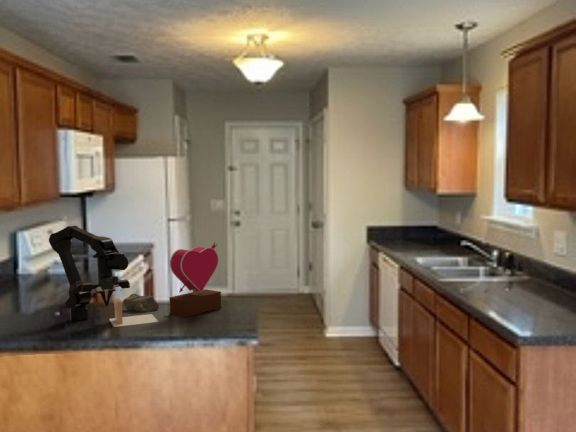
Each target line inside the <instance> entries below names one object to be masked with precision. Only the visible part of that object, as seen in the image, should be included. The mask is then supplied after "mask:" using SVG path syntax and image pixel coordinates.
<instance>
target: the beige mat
mask: <svg viewBox="0 0 576 432" xmlns="http://www.w3.org/2000/svg"><path fill="white" fill-rule="evenodd" d="M108 320H109V321H110V323H111V325H112V327H113V328H117V327H118V328H119V327H125V326H136V325H142V324H151V323H159V321H158V319H157V318H156V317H155V316H154V315H153V314H152V313H150V314H141V315H140V314H139V315H132V316H122V320H123V324H117V322H116V321H115V317H113V318H109V319H108Z"/></svg>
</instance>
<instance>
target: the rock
mask: <svg viewBox="0 0 576 432" xmlns="http://www.w3.org/2000/svg"><path fill="white" fill-rule="evenodd" d="M122 306H124V307H125V309H126V310H127V311H137V312H143V313H148V312H154V311H156V310H158V309H159V308H160V306H159V304H158V302H157V301H156V300H155V298H154V297H153V296H152V295H140V294H136V293H132V294H130V295H129V296H128V297H126V298H124V299H123V300H122Z"/></svg>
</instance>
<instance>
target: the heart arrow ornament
mask: <svg viewBox="0 0 576 432" xmlns="http://www.w3.org/2000/svg"><path fill="white" fill-rule="evenodd" d="M217 246H218V244H216V242H213V244H212V245H211V247H204V246H203V247H202V246H195V247H193V248H191V249H190V250H189V249H182V248H179V249H176V250H175V251H173V253H172V255H171V257H170V259H169V267H170V271H171V272H172V274H173V276H175V277H176V278H177V279H178V281H180V282H181V283H182V284H183V286H182V287H180V289H179V294H178V295H174V296H169V297H168V299H169V314H170V315H171V316H177V317H182V318H188V317H192V316H193V317H194V316H196V314H197V315H200V314H199V313H201V314H203V313H202V312H205V313H207V312H206V311H208V312H211V311H210V310H212V311H214V310H213V309H216V310H219V309H218V308H220V309H222V308H223V307H222V295H221V294H222V292H221V291H218V290H212V289H208V288H207V289H205V288H206V286H207V284H208V283H209V281H210V280H211V278H212V276H213V275H214V273H215V272H216V270H217V267H218V265H219V256H218V255H219V254H218V252H217V251H216V247H217ZM185 287H186V288H187V289H188V291H190V292H188V293H183V294H180V293H181V292H183V291H184V288H185Z"/></svg>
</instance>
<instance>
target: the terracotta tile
mask: <svg viewBox="0 0 576 432" xmlns="http://www.w3.org/2000/svg"><path fill="white" fill-rule="evenodd" d="M113 303H114V318H115V321H116V322H117V324H123V320H122V317H123V301H121V299H120V298H114V299H113Z"/></svg>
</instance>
